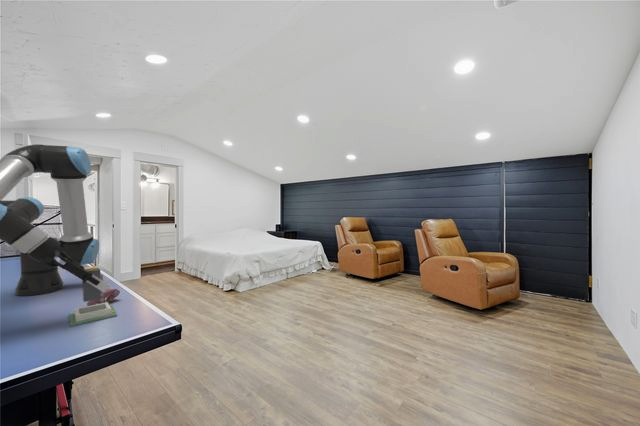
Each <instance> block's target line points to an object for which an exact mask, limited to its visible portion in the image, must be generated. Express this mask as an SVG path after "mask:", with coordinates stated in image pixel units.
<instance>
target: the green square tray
mask: <svg viewBox="0 0 640 426" xmlns="http://www.w3.org/2000/svg"><path fill="white" fill-rule="evenodd" d="M73 310H74V312H72V313H69V314H68V319H69V320H68V321H69V326H70V328H71V327H76V326H79V325H80V326H81V325H84V324H85V325H86V324H89V323H93V322H97V321H103V320H107V319H112V318H115V317H116V318H117V317H118V313H117V312H116V310H115V308H114V307H113V305H110V303H108V302H105V303H102V304H96V305H92V306H87V305H85V306H82V307H76V308H74V309H73Z"/></svg>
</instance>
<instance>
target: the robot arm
mask: <svg viewBox="0 0 640 426" xmlns="http://www.w3.org/2000/svg"><path fill="white" fill-rule="evenodd" d="M91 172H92V164H91V159H90V157H89V154H88V153H87V151H86V150H85V149H83V148H82V147H77V146H71V145H52V144H51V145H49V144H29V145H26V146H25V145H24V146H22V147H18V148H16V149H13V150H11V151H10V152H8V153H6V154H4V156H2V157H1V158H0V241H3V242H5V243H6V244H7V245H9V246H11V247H13V248H12V250H13V251H19V256H20V257H19V260H20V277H19V279H18V280H19V281H17V285H16V286H15V289H14V290H15V295H16V296H19V297H28V296H36V295H37V296H38V295H43V294H48V293H49V294H50V293H52V292H57V291H60V290H62V289H63V288H64V281H63V279H62V277H61V275H60V273H59V268H61V269H62V270H65V271H66V272H68V273H70V274H72V275H73V276H75V277H76V278H78V279H80V280H81V283H82V284H83V283H85V282H87V283H89V284H91V285H92V286H94V287H96V288H97V289H99V290H100V291H102V292H104V291H105V290H106V289H109V288H110V287H111V284H109V282H108V281H107V280H104V279H103V281H102V280H101V279H99V278H98V277H96V276H95V275H92V274H90V273H89V272H87V271H86V270H84V267H85V266H84V265H91V264H93V263H95V261H96V260H97V258H98V254H99V251H100V249H99V248H100V242H99V239H98V238H94V234H93V233H91V232H89V227H88V217H87V210H86V209H87V208H86V207H87V206H86V200H85V198H86V197H85V192H84V181H85V180H86V179H87V175H90V174H91ZM37 173H39V174H41V173H43V174H50V178H51V179H52V180H53V181H54V182H56V189H57V196H58V204H59V211H60V218H61V225H62V233H63V234H62V235H61V236H60V237H59V240H58V238H57V237H52V236H49V234H48V233H46V232H45V231H43V230H42V229H40V228H39V227H38V226H35V225H34V224H32V222H35V221H36V220H38V219H39V218H40V216H42V215H43V214H44V211H45V206H44V204H43V203H42V202H41V201H40V200H38V198H34V197H31V196H24V197H21V198H17V199H15V200H3V199H4V198H6V196H7V195H8V194H9V193H10V192H11V191H13V189H14V188H16V186H17V185H18V184H19V183H21V181H22V180H23V179H24V178H27V177H30V176H32V175H33V174H37ZM58 267H59V268H58Z"/></svg>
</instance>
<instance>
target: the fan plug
mask: <svg viewBox="0 0 640 426" xmlns="http://www.w3.org/2000/svg"><path fill="white" fill-rule="evenodd" d="M83 267H84V270H86V271H87V272H89V273H90V274H92V275H95V276H96V277H98V278H99V279H101V280H102V281H103V280H104V275H103V273H101V268H100V267H99V266H97V265H94V266H83ZM101 295H103V292H102V291H100V290H99V289H97V288H96V287H94V286H92V285H91V284H89V283H87V282H85V283H82V300H83V303H86V302H88V301H92V300H97V299H101Z"/></svg>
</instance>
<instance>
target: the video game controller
mask: <svg viewBox="0 0 640 426" xmlns="http://www.w3.org/2000/svg"><path fill="white" fill-rule="evenodd" d="M120 293H121V291H120V290H119V289H117V288H115V287H112V288H107V289H106V290H105V291H104V292H103V295H101V299H97V300H92V301H87V303H86V306H92V305H97V304H102V303H107V302H108V304H110V303H111V302H113V301H114V299H116V298H117V297H118V296H119V295H120Z"/></svg>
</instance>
